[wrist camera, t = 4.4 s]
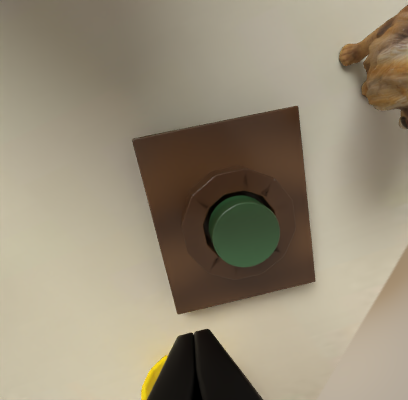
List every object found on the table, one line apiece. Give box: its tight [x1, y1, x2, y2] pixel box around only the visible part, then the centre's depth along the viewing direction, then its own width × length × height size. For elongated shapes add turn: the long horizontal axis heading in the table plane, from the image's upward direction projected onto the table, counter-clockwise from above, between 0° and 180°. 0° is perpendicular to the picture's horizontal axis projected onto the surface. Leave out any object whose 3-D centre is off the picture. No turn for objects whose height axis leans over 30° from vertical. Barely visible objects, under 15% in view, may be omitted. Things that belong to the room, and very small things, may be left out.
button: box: [209, 195, 280, 267], centre depth 14 cm, size 4×4×2 cm
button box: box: [132, 106, 315, 314], centre depth 16 cm, size 12×10×4 cm
